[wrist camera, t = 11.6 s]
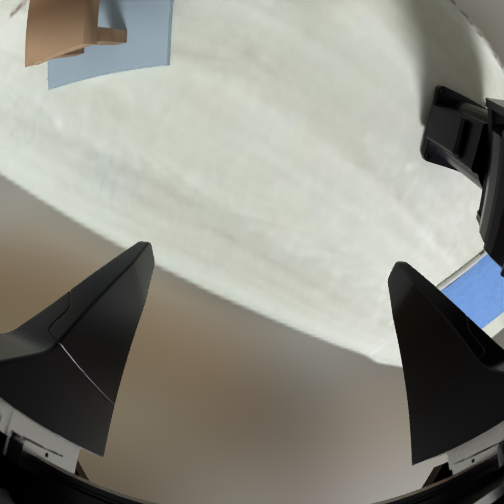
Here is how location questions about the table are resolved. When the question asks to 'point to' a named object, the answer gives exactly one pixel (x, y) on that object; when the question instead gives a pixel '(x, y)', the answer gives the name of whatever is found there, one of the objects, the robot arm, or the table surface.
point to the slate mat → (126, 54)
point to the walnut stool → (65, 30)
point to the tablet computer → (477, 289)
